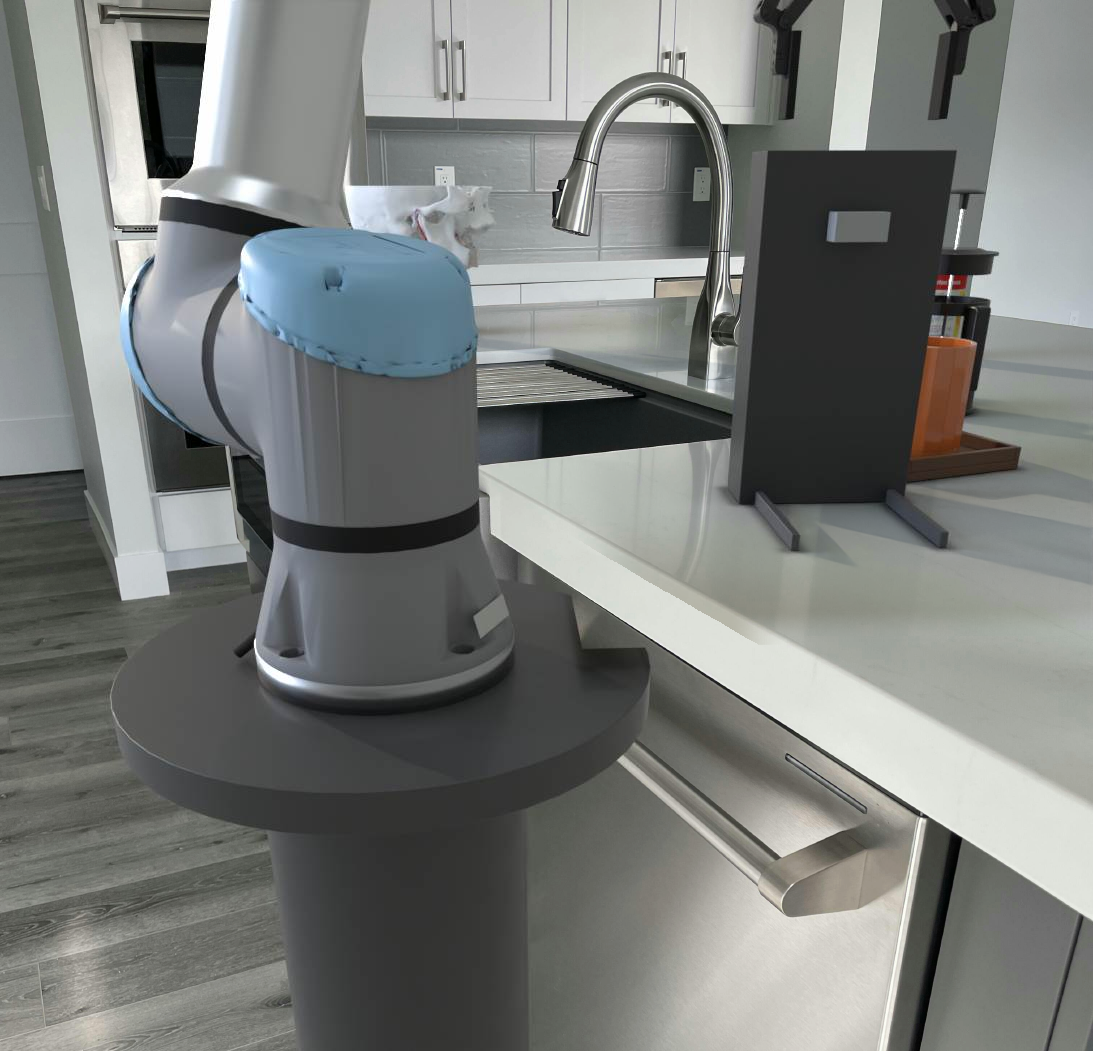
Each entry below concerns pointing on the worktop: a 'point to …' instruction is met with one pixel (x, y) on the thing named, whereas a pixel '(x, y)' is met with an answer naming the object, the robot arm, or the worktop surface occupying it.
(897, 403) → the standing panel with handle
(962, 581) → the worktop surface
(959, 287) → the canned food
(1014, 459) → the tray
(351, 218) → the skull
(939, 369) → the cup
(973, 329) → the french press
